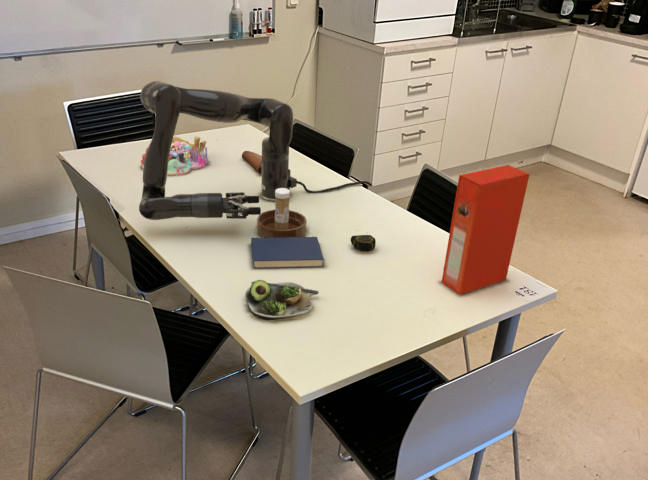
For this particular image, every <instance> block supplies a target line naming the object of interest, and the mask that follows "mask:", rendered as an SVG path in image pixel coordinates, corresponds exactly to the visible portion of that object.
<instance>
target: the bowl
mask: <svg viewBox="0 0 648 480" xmlns="http://www.w3.org/2000/svg"><path fill="white" fill-rule="evenodd" d="M307 222H308V221H307V218H306V217H305V215H303V214H302V213H300V212H298V211H294V210H290V209H289V221H288V229H289V230H278V229H274V228H275V209H270V210H266V211H264V212H261V214H260V215H257V218H256V232H257V234H259V236H260V237H261V238H270V237H305V235H306V233H307V225H308V223H307Z"/></svg>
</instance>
